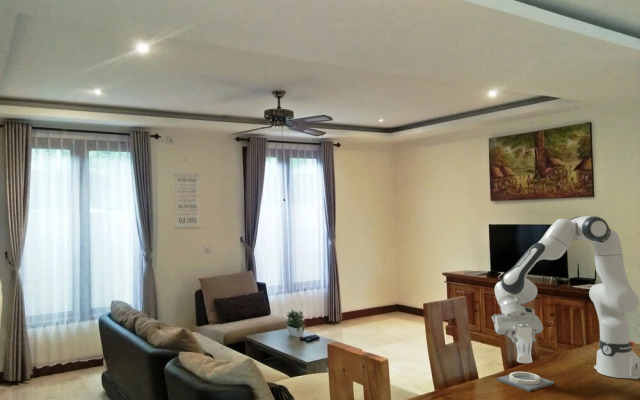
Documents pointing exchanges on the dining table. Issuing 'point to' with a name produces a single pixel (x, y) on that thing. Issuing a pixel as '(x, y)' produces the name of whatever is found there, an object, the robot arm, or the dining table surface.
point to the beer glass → (523, 343)
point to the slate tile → (526, 387)
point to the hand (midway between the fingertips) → (524, 341)
